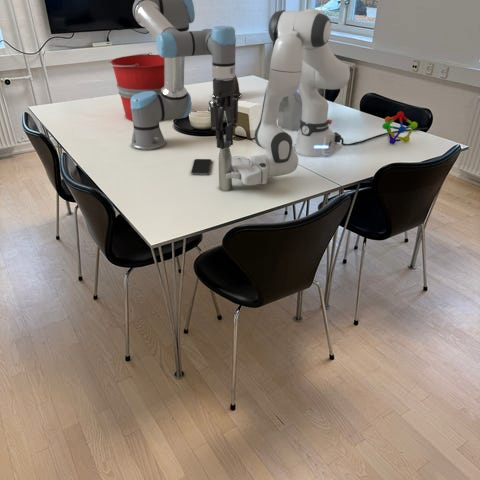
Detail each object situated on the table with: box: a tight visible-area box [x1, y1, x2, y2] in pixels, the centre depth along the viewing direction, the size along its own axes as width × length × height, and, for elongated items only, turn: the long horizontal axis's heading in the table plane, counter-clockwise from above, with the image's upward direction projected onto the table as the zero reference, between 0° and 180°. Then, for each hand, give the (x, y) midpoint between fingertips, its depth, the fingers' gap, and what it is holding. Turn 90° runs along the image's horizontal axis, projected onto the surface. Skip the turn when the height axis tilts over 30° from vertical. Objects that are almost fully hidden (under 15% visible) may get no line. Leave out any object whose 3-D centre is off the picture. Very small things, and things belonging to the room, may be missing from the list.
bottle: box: [218, 147, 233, 192], centre depth 162 cm, size 5×5×18 cm
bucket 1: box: [107, 51, 164, 122], centre depth 239 cm, size 35×35×30 cm
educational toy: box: [382, 110, 418, 145], centre depth 207 cm, size 16×13×15 cm
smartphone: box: [190, 158, 212, 176], centre depth 184 cm, size 7×1×15 cm
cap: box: [224, 137, 232, 149], centre depth 158 cm, size 4×4×2 cm
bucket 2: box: [277, 88, 326, 131], centre depth 226 cm, size 30×30×28 cm
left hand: (224, 146), depth 158 cm, fingers closed on cap, 4 cm apart
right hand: (223, 172), depth 164 cm, fingers closed on bottle, 5 cm apart
